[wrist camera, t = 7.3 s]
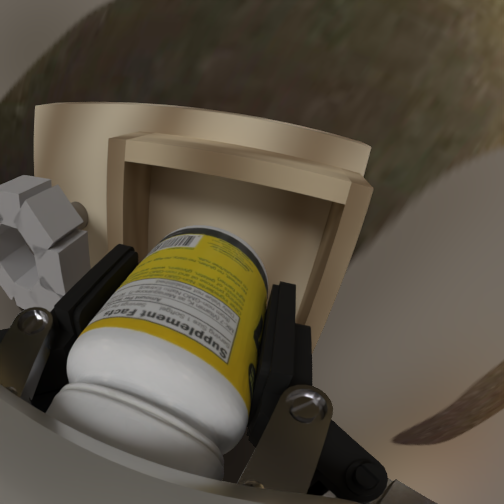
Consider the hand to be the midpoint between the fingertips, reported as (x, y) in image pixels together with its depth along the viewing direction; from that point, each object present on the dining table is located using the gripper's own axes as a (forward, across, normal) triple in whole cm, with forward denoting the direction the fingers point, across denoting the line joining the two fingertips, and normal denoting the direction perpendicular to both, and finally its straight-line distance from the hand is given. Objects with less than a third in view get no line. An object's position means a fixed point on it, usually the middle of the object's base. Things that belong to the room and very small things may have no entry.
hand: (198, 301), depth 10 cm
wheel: (+1, +8, 0) cm, 8 cm away
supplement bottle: (+2, 0, 0) cm, 2 cm away
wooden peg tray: (+6, +3, 0) cm, 7 cm away
